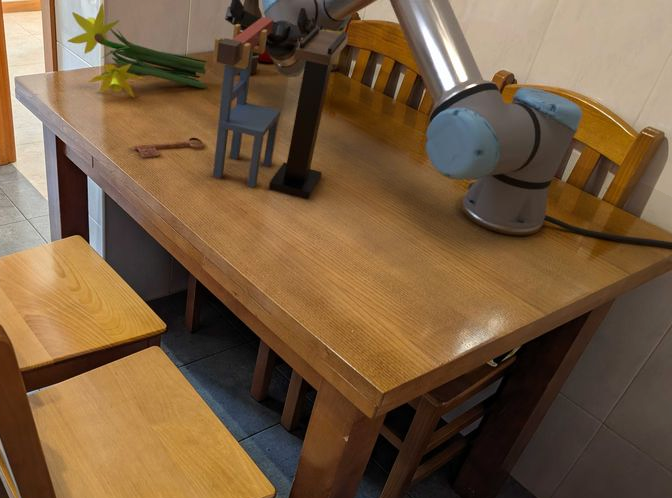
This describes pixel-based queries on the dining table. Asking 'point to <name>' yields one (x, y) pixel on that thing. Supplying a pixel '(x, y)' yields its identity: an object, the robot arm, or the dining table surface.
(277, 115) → the chair
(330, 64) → the stand
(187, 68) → the daffodil flowers
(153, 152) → the key
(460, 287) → the dining table surface
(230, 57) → the hanger bar
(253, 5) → the beer bottle
